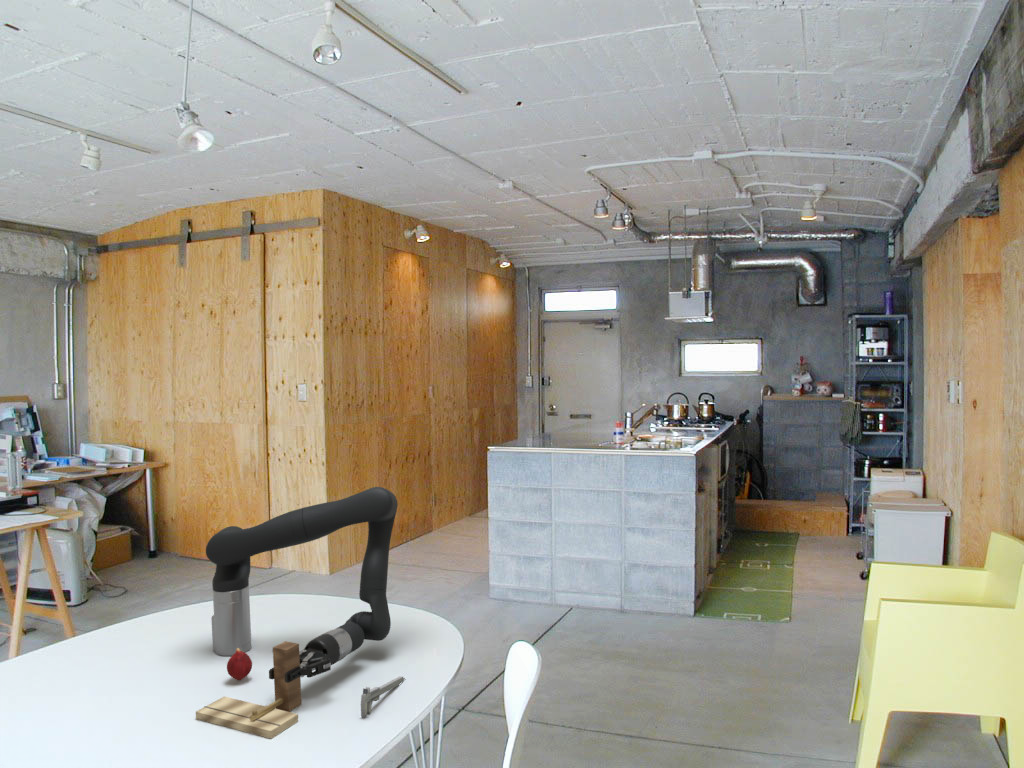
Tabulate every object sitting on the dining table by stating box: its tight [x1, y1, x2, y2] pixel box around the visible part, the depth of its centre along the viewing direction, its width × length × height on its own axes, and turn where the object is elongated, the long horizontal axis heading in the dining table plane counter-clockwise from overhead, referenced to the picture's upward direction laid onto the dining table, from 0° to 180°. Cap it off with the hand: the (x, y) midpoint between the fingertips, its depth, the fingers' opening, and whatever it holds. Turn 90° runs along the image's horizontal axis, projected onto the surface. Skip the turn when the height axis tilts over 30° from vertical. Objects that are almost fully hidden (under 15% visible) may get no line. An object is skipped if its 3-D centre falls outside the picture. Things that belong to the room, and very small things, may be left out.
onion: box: [226, 648, 253, 682], centre depth 184 cm, size 6×6×8 cm
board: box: [195, 696, 299, 739], centre depth 164 cm, size 22×8×2 cm, turn 64°
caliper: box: [360, 676, 406, 719], centre depth 173 cm, size 20×1×6 cm, turn 163°
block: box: [250, 640, 302, 721], centre depth 166 cm, size 4×13×14 cm, turn 154°
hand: (278, 676), depth 167 cm, fingers closed on block, 4 cm apart
